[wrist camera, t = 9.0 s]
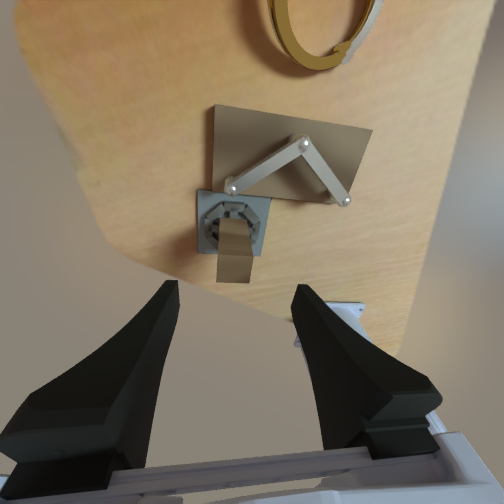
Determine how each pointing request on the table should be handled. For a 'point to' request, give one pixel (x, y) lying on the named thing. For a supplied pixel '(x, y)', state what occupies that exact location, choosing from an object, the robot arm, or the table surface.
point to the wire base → (273, 138)
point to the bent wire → (282, 156)
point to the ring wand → (233, 240)
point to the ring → (341, 51)
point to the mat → (211, 199)
